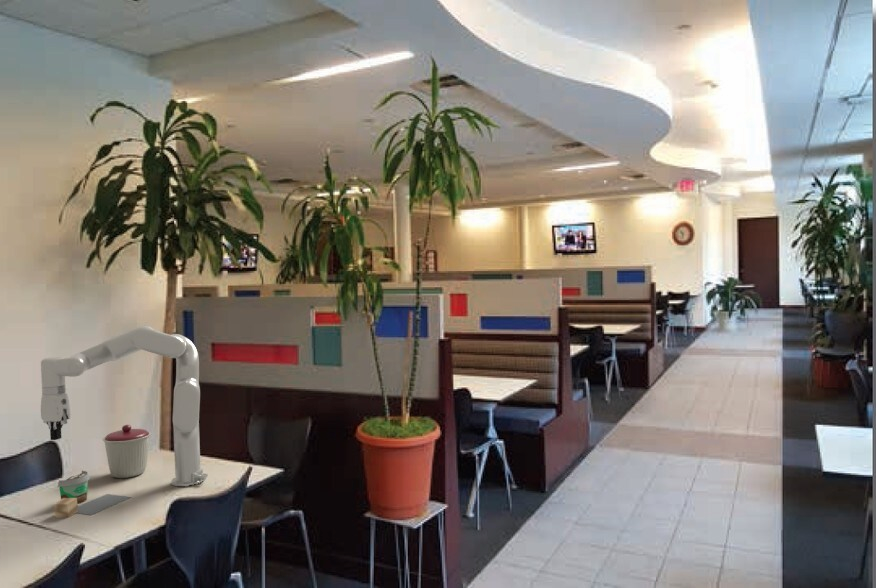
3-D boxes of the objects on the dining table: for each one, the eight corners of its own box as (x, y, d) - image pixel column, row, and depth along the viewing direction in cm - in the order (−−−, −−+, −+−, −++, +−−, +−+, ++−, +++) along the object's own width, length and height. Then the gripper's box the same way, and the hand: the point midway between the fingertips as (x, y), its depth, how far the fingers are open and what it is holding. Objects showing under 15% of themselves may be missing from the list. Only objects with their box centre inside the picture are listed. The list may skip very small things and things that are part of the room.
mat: (131, 498, 237) (131, 497, 237) (90, 515, 220) (90, 514, 220) (107, 495, 241) (107, 493, 241) (65, 512, 224) (65, 511, 224)
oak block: (78, 511, 224) (76, 497, 223) (68, 517, 219) (67, 504, 218) (65, 511, 224) (63, 497, 224) (55, 517, 219) (53, 504, 219)
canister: (94, 479, 261) (92, 428, 260) (130, 466, 278) (128, 418, 277) (126, 483, 254) (124, 431, 253) (161, 470, 271) (159, 421, 270)
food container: (73, 509, 227) (72, 481, 227) (58, 508, 229) (57, 480, 228) (98, 496, 239) (97, 470, 239) (84, 496, 241) (83, 470, 240)
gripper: (77, 389, 237) (79, 437, 237) (48, 388, 242) (50, 435, 242) (59, 393, 230) (61, 443, 230) (29, 391, 235) (32, 440, 235)
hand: (56, 439), depth 236 cm, fingers closed
